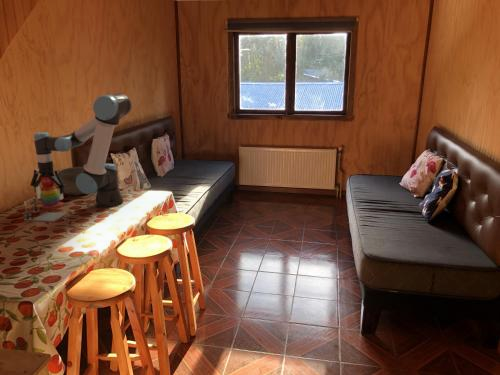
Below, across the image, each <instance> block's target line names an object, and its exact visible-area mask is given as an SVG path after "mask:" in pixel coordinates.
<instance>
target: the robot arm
mask: <svg viewBox="0 0 500 375" xmlns="http://www.w3.org/2000/svg"><path fill="white" fill-rule="evenodd" d="M132 107H133V106H132V101H131V99H130V98H129V97H128V96H127V95H126V94H123V93H113V94H103V95H100V96H98V97H97V98H96V99H95V100H94V102H93V105H92V110H93V114H94V116H93V117H92V118H90V119H89V120H87V122H85V123H84V124H82V125H81V126H79V127H78V128H77V129H75V130H73V132H71V133H68V134H66V135H62V136H50V134H49V132H47V131H46V132H45V131H43V132H42V131H41V132H36V133H34V134H33V142H34V147H35V148H34V149H35V153H36V161H37V168H36V169H33V176H32V179H31V181H30V186H31V187H34V192H35V193H36V199H41V197H40V194H41V186H40V184H41V180H42V179H41V177H48V178H50V179H52V180H53V181H54V185H55V186H57V187H58V188H57V191H58V193H59V201H61V200H63V199H64V194H65V193H64V189H63V187H65V186H66V183H65V182H64V180H63V178H62V177H61V175H60V172H59V171H60V170H59V169H56V170H55V169H54V161H53V152H61V153H63V152H69V151H70V150H71V149H74V148H77V147H80V146H83V145H84V144H85V142H86V141H87V140H88V139H90V138H92V143H91V145H90V146H91V147H90V150H89V154H88V160H87V163H85V164H84V165H83V166H82V167H83V170H82V173H81V174H79V175H78V176H77V178H76V185H77V187H78V189H79V190H80V191H81V192H83V193H84V194H86V195H93V194H95V193H96V195H95V200H94V204H95V206H96V207H100V208H111V207H116V206H119V205H120V206H121V205H122V204H123V203H124V198H123V195H122V193H121V192H120V189H119V188H120V186H119V180H118V178H119V177H118V170H117V165H116V164H114V163H106V161H107V159H108V154H109V150H110V146H111V142H112V139H113V138H112V137H113V134H114V130H115V127H116V126H119V124H120V120H121V119H122V118H124V117H126V116H127V115H129V113H131V110H132Z"/></svg>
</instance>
